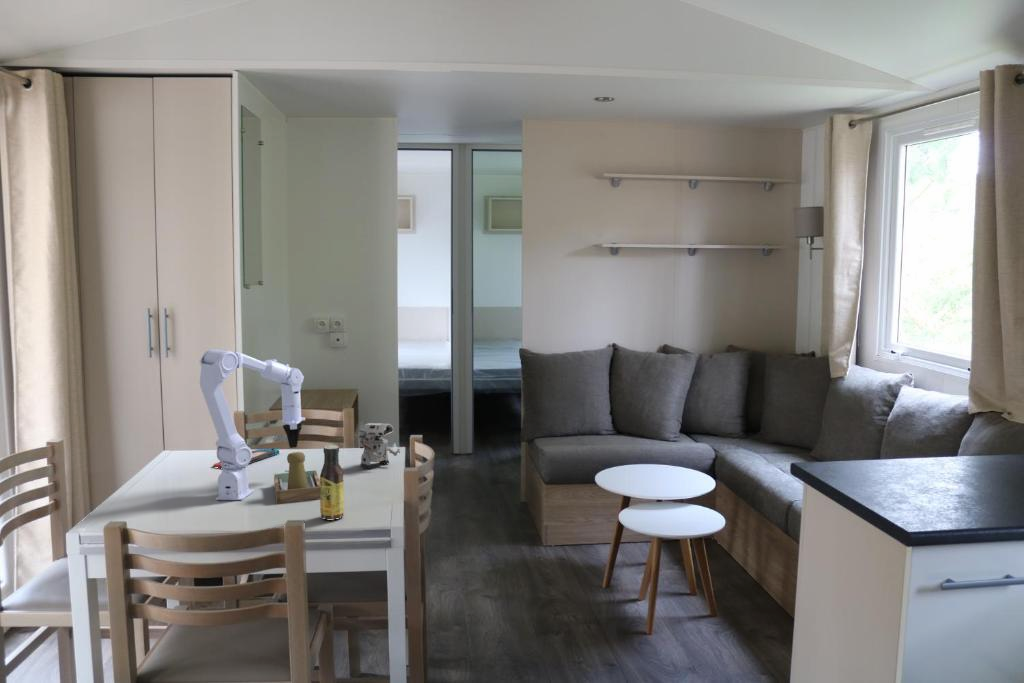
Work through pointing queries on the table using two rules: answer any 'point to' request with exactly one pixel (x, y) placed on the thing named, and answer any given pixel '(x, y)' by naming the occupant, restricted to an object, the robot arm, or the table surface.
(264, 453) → the gaming console
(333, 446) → the sauce bottle
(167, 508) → the table surface
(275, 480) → the caddy
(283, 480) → the drawer
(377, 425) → the figurine
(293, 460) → the cork
